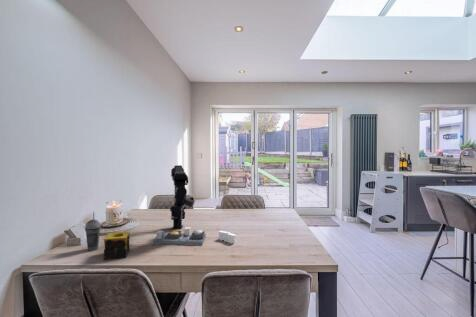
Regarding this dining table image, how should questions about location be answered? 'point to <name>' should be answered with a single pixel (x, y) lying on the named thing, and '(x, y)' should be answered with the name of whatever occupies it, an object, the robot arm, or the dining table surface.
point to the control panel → (180, 239)
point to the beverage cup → (92, 234)
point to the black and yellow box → (116, 245)
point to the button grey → (197, 232)
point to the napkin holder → (227, 237)
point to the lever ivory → (187, 231)
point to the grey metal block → (160, 234)
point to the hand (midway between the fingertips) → (179, 219)
